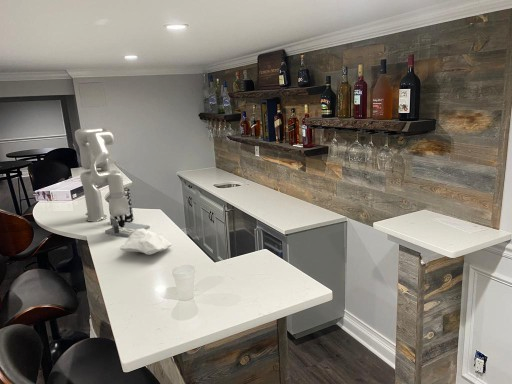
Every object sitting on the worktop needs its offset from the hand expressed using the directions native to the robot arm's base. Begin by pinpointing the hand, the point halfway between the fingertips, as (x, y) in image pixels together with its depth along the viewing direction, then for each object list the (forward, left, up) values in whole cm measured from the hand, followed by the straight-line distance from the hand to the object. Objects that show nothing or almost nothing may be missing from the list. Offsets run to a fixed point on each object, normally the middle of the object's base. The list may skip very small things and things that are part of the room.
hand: (122, 227), depth 215 cm
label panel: (-4, +7, -5) cm, 9 cm away
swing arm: (-5, -1, -1) cm, 5 cm away
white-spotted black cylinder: (-19, +20, -5) cm, 28 cm away
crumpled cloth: (+29, -12, -5) cm, 32 cm away
